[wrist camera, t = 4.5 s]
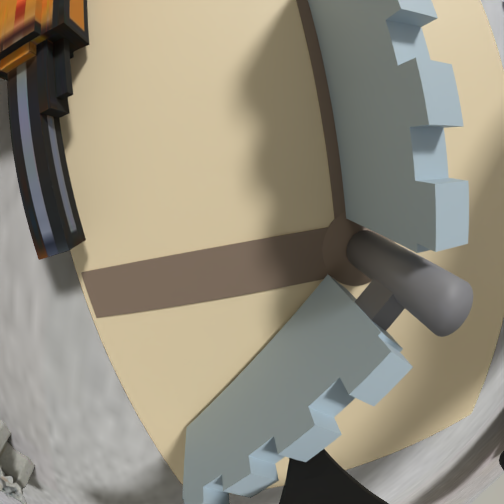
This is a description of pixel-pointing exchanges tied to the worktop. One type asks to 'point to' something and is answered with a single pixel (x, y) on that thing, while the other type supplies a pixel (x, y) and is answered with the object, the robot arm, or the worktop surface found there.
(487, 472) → the worktop surface
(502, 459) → the milk frother
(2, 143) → the worktop surface
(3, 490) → the grey rock
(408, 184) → the fence fixed panel
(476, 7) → the card
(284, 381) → the fence hinged panel
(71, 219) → the toy
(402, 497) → the worktop surface
